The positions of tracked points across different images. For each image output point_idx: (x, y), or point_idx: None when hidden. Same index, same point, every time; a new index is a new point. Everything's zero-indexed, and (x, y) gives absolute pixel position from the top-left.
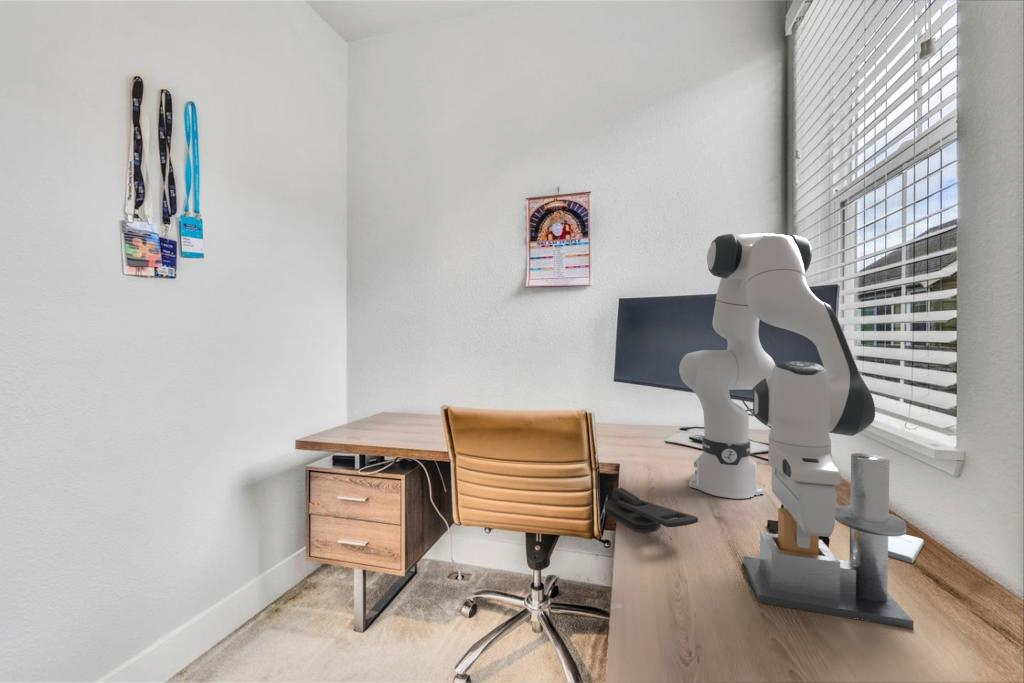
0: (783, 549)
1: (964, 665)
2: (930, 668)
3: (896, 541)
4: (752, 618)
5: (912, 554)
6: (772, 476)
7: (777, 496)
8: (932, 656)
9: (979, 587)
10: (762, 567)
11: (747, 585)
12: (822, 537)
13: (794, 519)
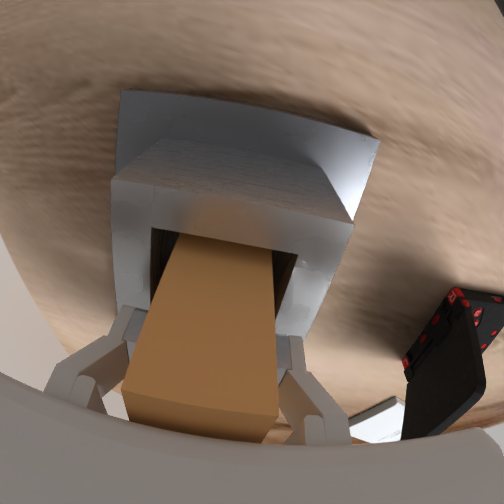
0: (176, 248)
1: (70, 342)
2: (42, 303)
3: (385, 431)
4: (63, 56)
5: None
6: (497, 501)
7: (400, 453)
8: (70, 323)
9: (273, 442)
10: (284, 162)
11: (223, 83)
12: (414, 373)
13: (19, 387)
